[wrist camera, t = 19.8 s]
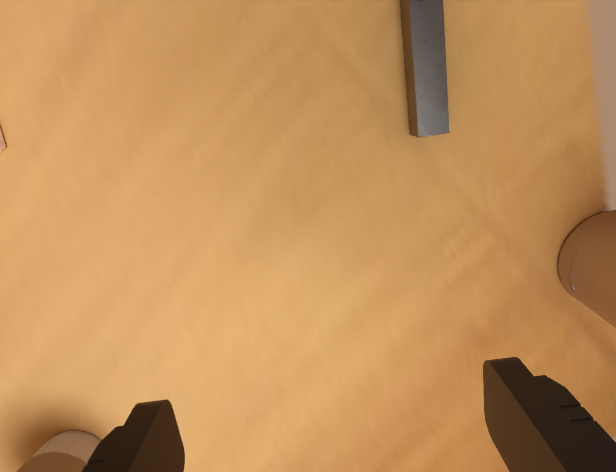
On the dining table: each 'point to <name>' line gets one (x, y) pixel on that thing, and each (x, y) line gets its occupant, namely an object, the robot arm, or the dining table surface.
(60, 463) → the coffee cup
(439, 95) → the turner
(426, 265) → the dining table surface
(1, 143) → the jar
